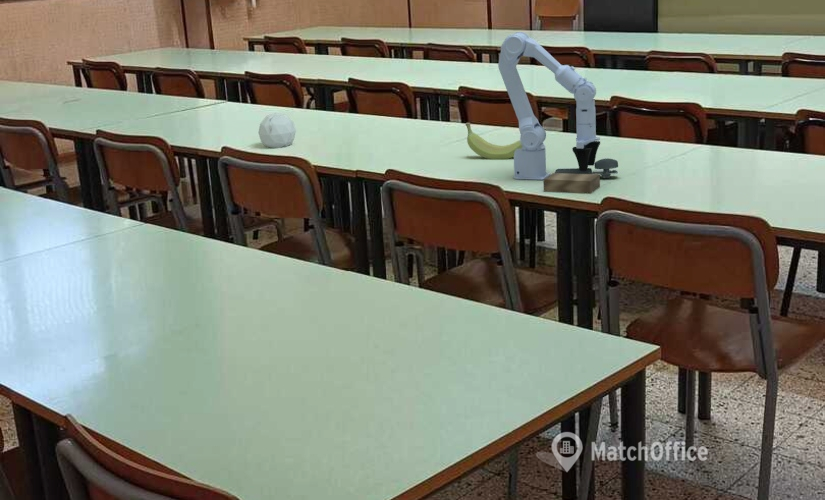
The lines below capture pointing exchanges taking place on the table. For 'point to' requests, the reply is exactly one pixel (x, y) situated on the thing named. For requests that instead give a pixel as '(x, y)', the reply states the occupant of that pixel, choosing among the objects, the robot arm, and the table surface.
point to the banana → (490, 147)
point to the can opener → (599, 164)
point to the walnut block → (571, 183)
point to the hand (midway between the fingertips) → (586, 167)
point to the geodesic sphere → (277, 131)
